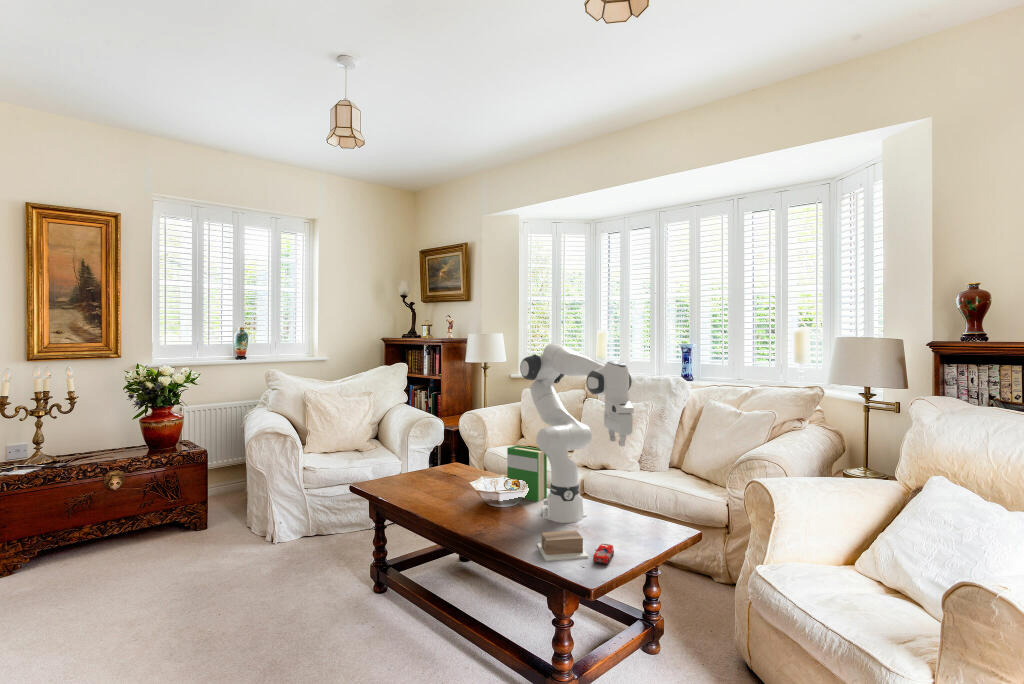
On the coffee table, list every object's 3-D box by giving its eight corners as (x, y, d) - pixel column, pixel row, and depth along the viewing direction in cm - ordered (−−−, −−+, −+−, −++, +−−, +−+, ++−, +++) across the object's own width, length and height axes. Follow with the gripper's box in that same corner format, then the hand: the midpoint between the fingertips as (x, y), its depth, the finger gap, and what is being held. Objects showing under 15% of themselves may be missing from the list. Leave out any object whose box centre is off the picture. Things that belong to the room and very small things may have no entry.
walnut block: (541, 546, 192) (541, 532, 192) (576, 543, 194) (576, 530, 194) (546, 555, 184) (546, 540, 184) (582, 552, 186) (582, 538, 186)
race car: (607, 566, 176) (607, 554, 176) (591, 563, 178) (591, 551, 178) (616, 553, 188) (616, 541, 188) (600, 550, 190) (601, 539, 190)
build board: (537, 546, 195) (537, 543, 195) (576, 543, 197) (576, 540, 197) (545, 562, 181) (545, 558, 181) (588, 559, 183) (588, 555, 183)
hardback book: (546, 501, 250) (546, 449, 249) (537, 505, 244) (537, 452, 244) (517, 494, 261) (516, 445, 260) (507, 498, 255) (507, 447, 255)
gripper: (599, 402, 206) (599, 438, 206) (618, 409, 186) (618, 449, 186) (615, 402, 207) (615, 438, 207) (635, 408, 187) (635, 448, 187)
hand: (617, 443), depth 196 cm, fingers open, 8 cm apart
